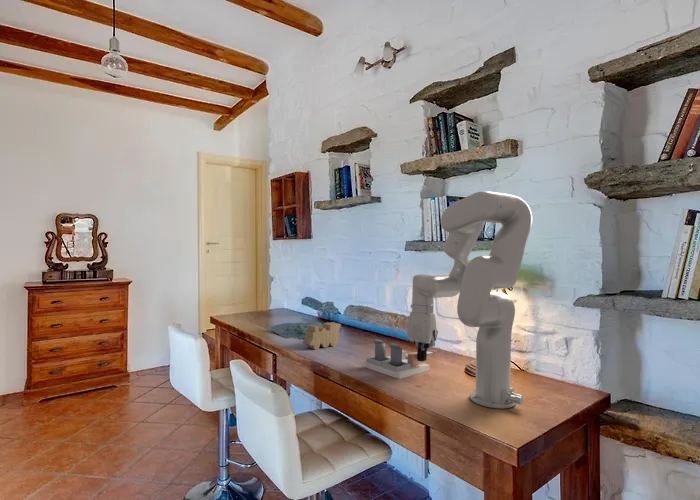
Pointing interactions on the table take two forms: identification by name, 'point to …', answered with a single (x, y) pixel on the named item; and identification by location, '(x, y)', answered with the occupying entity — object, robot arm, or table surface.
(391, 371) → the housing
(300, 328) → the terrain model
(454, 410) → the table surface
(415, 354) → the latch bar
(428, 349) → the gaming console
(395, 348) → the peg
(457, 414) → the table surface
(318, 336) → the toy train
